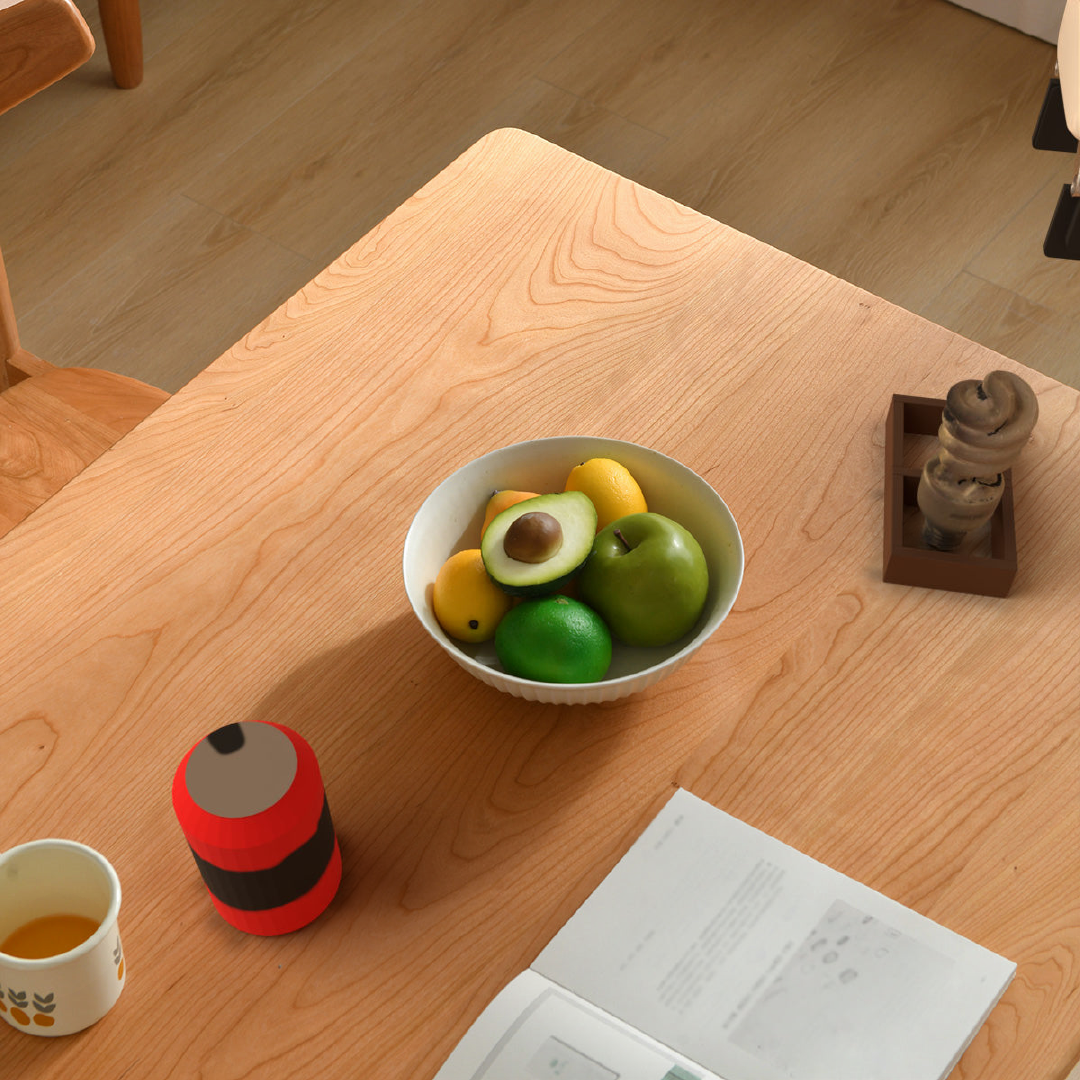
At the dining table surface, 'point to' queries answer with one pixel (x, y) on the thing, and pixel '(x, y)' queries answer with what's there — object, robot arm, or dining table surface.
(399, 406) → the dining table surface
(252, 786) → the soda can
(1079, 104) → the robot arm
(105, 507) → the dining table surface
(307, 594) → the dining table surface
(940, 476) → the light bulb
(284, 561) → the dining table surface
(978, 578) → the socket block
